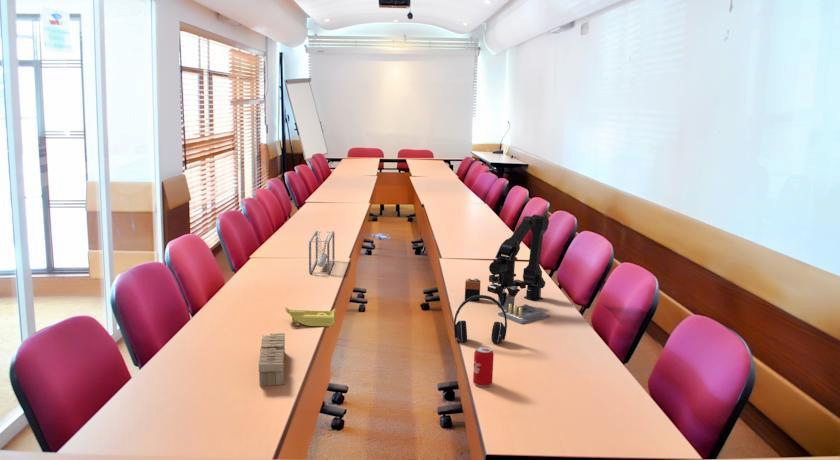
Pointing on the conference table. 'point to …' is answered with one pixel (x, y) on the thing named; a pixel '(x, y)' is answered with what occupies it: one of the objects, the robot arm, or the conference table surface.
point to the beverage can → (483, 366)
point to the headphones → (498, 327)
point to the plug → (507, 302)
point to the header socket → (524, 314)
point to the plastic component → (312, 317)
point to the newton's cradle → (323, 256)
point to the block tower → (272, 359)
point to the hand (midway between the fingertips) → (505, 305)
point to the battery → (472, 288)
